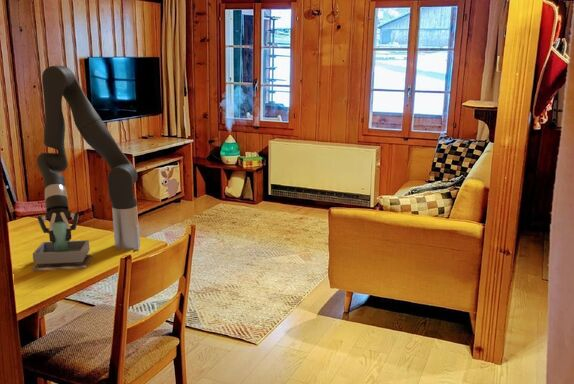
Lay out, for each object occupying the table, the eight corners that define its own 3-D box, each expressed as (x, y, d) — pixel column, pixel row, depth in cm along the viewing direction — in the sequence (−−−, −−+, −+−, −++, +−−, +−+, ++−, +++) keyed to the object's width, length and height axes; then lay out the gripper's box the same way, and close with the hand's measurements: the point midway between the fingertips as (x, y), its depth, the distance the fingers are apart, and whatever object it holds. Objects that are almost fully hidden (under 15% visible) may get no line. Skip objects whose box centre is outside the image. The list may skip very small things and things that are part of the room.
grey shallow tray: (90, 255, 194) (88, 240, 193) (83, 268, 183) (81, 251, 181) (44, 258, 192) (42, 241, 190) (34, 270, 180) (32, 253, 179)
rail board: (93, 258, 195) (92, 253, 194) (86, 270, 183) (86, 266, 183) (41, 260, 192) (41, 256, 191) (31, 273, 180) (31, 268, 180)
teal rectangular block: (69, 247, 188) (67, 221, 186) (66, 252, 184) (64, 225, 182) (56, 248, 188) (54, 221, 185) (53, 252, 184) (50, 225, 181)
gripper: (34, 195, 185) (37, 239, 177) (77, 192, 191) (82, 233, 183) (35, 206, 191) (39, 248, 183) (77, 202, 197) (82, 243, 189)
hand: (60, 240), depth 183 cm, fingers closed on teal rectangular block, 4 cm apart
